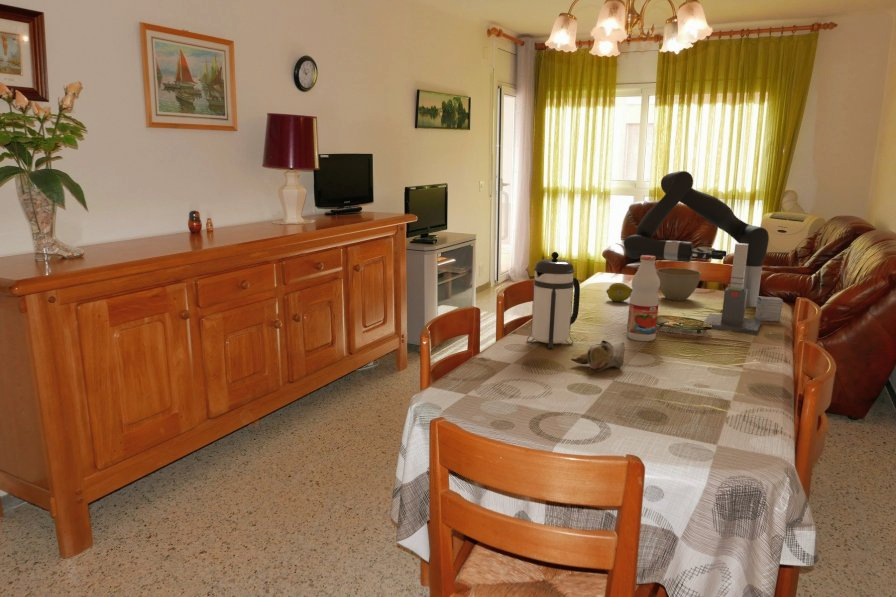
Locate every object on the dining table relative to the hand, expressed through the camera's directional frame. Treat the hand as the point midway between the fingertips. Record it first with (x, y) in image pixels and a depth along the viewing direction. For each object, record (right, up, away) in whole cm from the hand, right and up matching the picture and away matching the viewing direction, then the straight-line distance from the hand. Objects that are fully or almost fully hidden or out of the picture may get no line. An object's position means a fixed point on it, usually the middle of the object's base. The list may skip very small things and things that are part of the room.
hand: (724, 255), depth 237 cm
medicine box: (+22, -24, +13) cm, 35 cm away
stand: (+4, -26, +3) cm, 26 cm away
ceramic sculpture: (-57, -36, -49) cm, 83 cm away
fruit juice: (-35, -29, -16) cm, 49 cm away
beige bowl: (-2, -16, +46) cm, 49 cm away
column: (+4, -17, +1) cm, 18 cm away
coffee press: (-67, -30, -24) cm, 77 cm away
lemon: (-29, -17, +38) cm, 51 cm away
